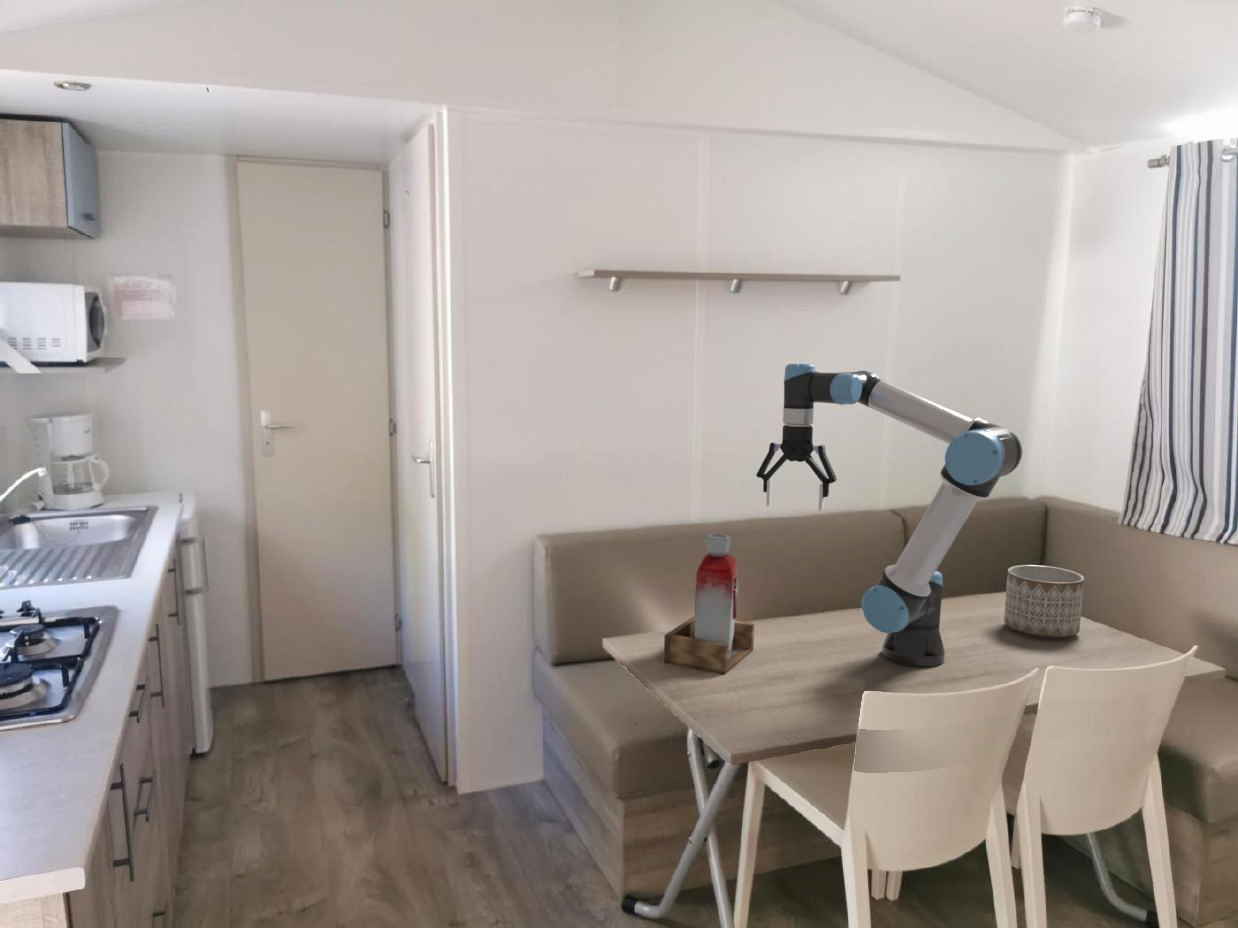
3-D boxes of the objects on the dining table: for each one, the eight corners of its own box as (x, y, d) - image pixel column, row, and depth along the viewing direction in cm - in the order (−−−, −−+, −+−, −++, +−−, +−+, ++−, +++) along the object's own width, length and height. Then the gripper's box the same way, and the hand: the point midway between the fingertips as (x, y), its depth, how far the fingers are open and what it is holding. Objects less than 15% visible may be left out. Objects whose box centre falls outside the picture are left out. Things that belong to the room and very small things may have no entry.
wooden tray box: (753, 650, 253) (754, 623, 252) (725, 674, 236) (726, 646, 235) (695, 639, 261) (696, 614, 260) (663, 662, 243) (664, 635, 242)
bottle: (732, 664, 240) (737, 543, 235) (690, 660, 241) (693, 540, 237) (737, 645, 254) (741, 530, 249) (697, 642, 256) (700, 528, 251)
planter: (1083, 628, 277) (1089, 571, 275) (1073, 647, 261) (1078, 586, 259) (1011, 616, 287) (1015, 561, 285) (996, 633, 271) (1001, 575, 269)
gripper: (850, 425, 249) (847, 509, 252) (754, 421, 259) (752, 501, 262) (843, 428, 242) (840, 513, 245) (746, 423, 253) (743, 505, 255)
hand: (795, 507), depth 254 cm, fingers open, 13 cm apart
